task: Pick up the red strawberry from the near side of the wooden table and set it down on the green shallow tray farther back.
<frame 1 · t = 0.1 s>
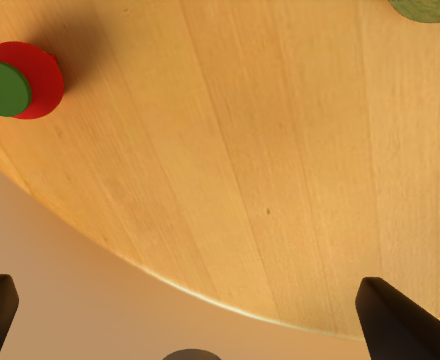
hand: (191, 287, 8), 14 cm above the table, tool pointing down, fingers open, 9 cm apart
strawberry: (39, 75, 19), on the table
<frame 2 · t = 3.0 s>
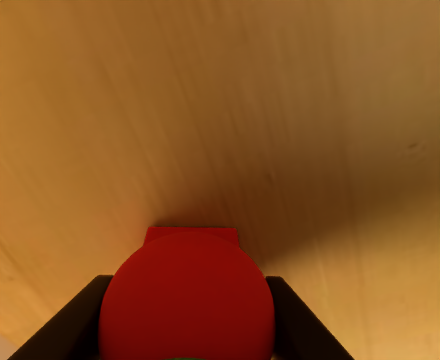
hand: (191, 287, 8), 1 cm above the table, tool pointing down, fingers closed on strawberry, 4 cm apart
strawberry: (192, 260, 9), on the table, touching gripper
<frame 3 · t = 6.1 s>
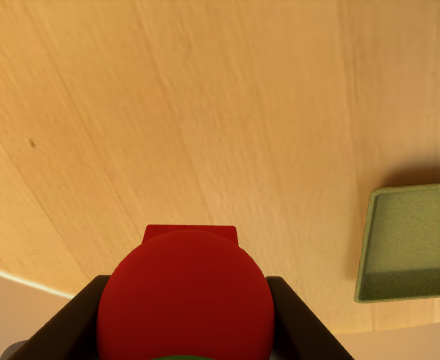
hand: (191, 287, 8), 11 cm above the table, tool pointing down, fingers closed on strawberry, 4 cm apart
strawberry: (191, 258, 9), point 10 cm above the table, touching gripper
green shallow tray: (413, 225, 21), on the table
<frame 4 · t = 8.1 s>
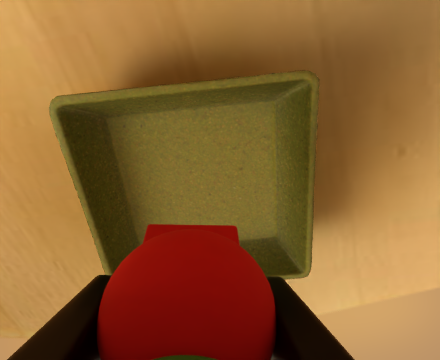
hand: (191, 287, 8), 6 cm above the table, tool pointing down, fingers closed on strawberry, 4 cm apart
strawberry: (192, 258, 9), point 5 cm above the table, touching gripper
green shallow tray: (199, 174, 14), on the table
when the fingers open (3 cm above the table, at t = 9.3 s): strawberry stays where it is, resting on green shallow tray.
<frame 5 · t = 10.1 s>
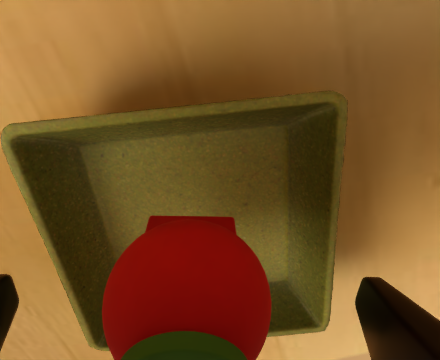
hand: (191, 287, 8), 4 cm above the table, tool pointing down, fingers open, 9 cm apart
strawberry: (191, 248, 10), point 2 cm above the table, touching green shallow tray
green shallow tray: (195, 209, 12), on the table, touching strawberry
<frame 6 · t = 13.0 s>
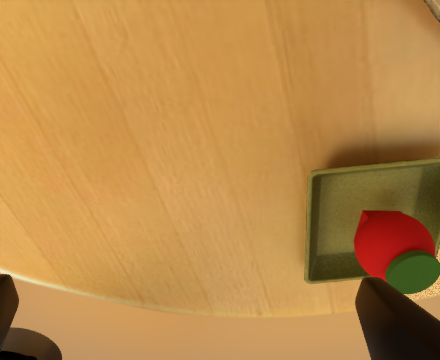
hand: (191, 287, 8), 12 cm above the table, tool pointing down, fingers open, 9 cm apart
strawberry: (376, 226, 20), point 2 cm above the table, touching green shallow tray
green shallow tray: (360, 207, 22), on the table, touching strawberry
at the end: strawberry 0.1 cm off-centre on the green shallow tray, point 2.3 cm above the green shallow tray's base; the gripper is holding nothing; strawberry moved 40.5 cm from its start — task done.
